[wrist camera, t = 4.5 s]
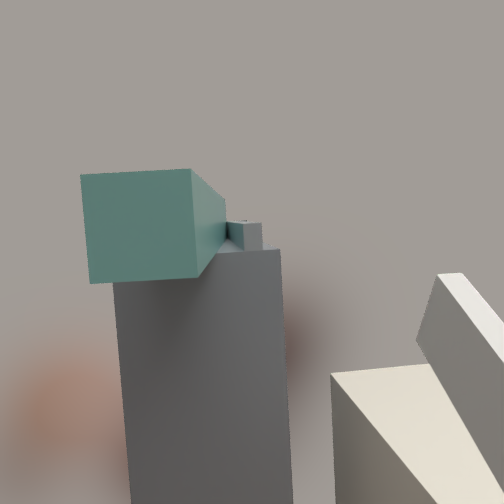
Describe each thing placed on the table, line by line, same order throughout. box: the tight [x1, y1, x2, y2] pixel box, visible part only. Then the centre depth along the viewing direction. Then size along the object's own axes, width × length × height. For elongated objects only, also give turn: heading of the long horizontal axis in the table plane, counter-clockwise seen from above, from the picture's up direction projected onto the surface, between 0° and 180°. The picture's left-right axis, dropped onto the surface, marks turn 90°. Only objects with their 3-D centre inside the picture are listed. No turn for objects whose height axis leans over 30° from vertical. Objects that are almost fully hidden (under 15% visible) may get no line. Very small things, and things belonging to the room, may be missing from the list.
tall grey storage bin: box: [113, 220, 293, 504], centre depth 33 cm, size 9×18×32 cm, turn 7°
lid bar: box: [80, 169, 227, 284], centre depth 26 cm, size 4×26×4 cm, turn 1°
